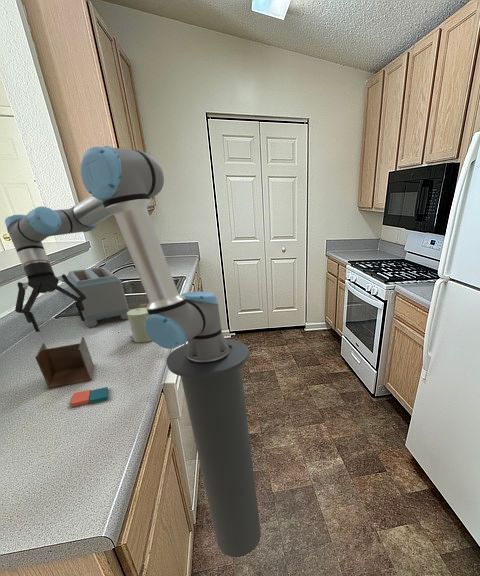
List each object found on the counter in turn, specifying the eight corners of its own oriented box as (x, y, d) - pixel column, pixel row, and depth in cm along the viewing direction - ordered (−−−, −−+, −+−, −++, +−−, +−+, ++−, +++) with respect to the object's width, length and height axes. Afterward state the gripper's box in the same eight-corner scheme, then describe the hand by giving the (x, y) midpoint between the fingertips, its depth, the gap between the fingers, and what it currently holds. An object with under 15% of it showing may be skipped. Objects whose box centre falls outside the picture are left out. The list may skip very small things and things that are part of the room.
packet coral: (88, 399, 94) (89, 403, 95) (90, 389, 99) (91, 392, 100) (70, 403, 93) (72, 407, 93) (73, 393, 98) (74, 396, 98)
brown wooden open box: (94, 365, 115) (83, 336, 110) (91, 380, 107) (80, 349, 101) (55, 373, 111) (42, 343, 106) (49, 389, 102) (35, 357, 97)
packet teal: (106, 396, 96) (107, 399, 96) (107, 386, 100) (108, 390, 101) (89, 400, 94) (90, 404, 95) (90, 390, 99) (92, 393, 99)
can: (154, 331, 142) (148, 304, 136) (160, 338, 135) (154, 310, 130) (131, 337, 137) (123, 309, 132) (136, 344, 131) (128, 315, 125)
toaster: (116, 302, 181) (105, 264, 171) (132, 319, 157) (120, 275, 148) (77, 310, 171) (63, 270, 161) (87, 328, 147) (72, 283, 138)
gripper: (80, 260, 120) (102, 317, 123) (-6, 275, 108) (20, 337, 112) (77, 254, 113) (100, 315, 116) (-15, 269, 102) (14, 335, 105)
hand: (61, 325), depth 114 cm, fingers open, 13 cm apart
